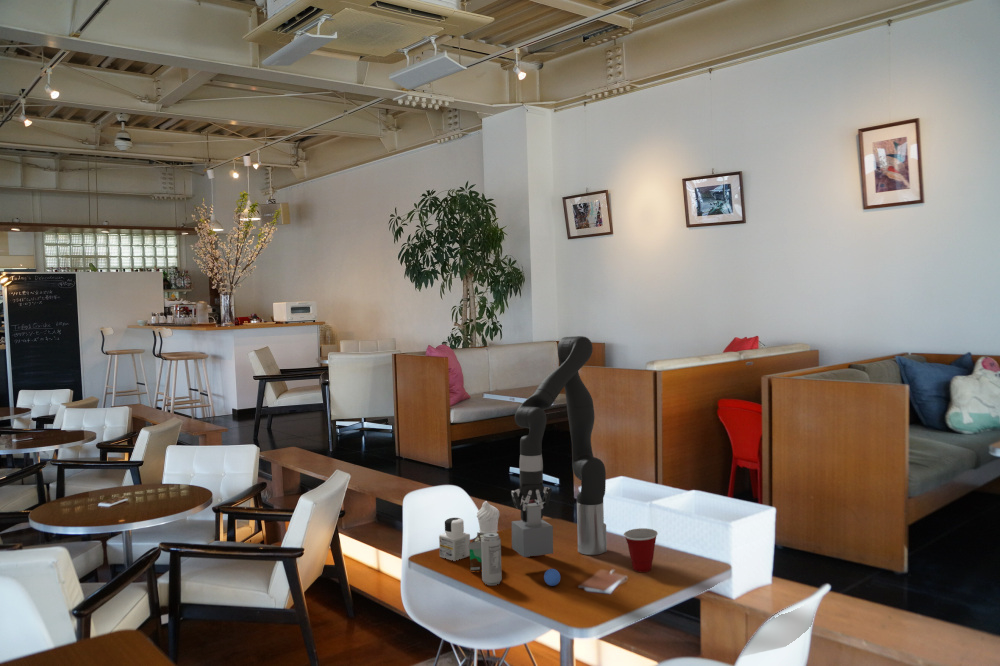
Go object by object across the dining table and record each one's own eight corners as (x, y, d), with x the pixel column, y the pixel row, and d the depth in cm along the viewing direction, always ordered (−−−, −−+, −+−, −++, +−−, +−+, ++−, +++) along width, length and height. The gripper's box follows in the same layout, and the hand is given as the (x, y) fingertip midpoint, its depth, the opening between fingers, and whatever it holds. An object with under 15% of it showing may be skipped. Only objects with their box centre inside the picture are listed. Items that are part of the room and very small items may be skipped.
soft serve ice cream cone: (498, 540, 270) (497, 497, 269) (502, 547, 261) (501, 503, 261) (475, 542, 268) (474, 499, 268) (479, 549, 260) (478, 504, 260)
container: (439, 557, 253) (438, 519, 253) (455, 551, 258) (454, 514, 258) (454, 561, 248) (453, 523, 247) (470, 555, 253) (469, 518, 253)
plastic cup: (619, 565, 240) (618, 529, 239) (650, 562, 242) (649, 526, 242) (631, 576, 229) (631, 538, 229) (664, 573, 231) (663, 535, 231)
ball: (556, 581, 226) (555, 565, 226) (563, 586, 222) (563, 570, 222) (541, 583, 225) (541, 567, 225) (548, 589, 220) (547, 572, 220)
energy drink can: (495, 577, 231) (493, 530, 231) (505, 583, 226) (504, 535, 226) (478, 581, 228) (477, 534, 228) (488, 587, 223) (487, 538, 222)
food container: (488, 574, 234) (487, 543, 234) (469, 573, 235) (468, 543, 235) (496, 562, 246) (495, 532, 246) (478, 561, 247) (477, 531, 247)
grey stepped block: (540, 544, 243) (539, 500, 243) (553, 553, 234) (552, 507, 234) (511, 548, 240) (511, 503, 240) (523, 557, 230) (523, 510, 230)
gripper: (546, 464, 242) (547, 515, 243) (506, 467, 237) (507, 520, 238) (556, 468, 235) (556, 521, 236) (514, 472, 230) (515, 526, 231)
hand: (531, 520), depth 237 cm, fingers closed on grey stepped block, 4 cm apart
